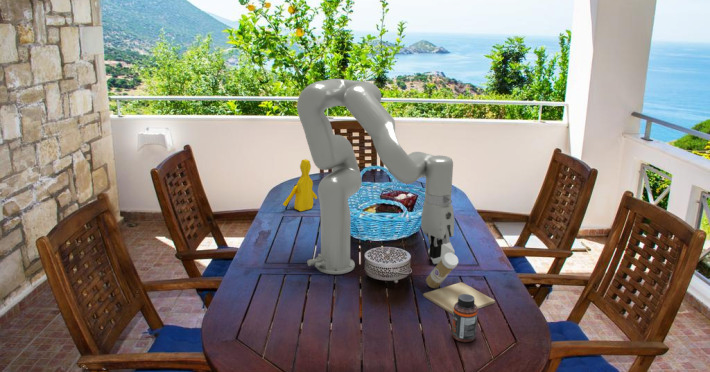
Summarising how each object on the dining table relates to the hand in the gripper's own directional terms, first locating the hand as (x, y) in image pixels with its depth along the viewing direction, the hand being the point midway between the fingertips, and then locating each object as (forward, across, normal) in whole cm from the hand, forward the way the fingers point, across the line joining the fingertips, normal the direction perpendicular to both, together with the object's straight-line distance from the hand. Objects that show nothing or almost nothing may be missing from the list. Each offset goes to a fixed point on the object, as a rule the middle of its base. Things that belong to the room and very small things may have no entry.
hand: (435, 256), depth 172 cm
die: (+10, +13, -14) cm, 21 cm away
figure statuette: (+10, +85, 0) cm, 85 cm away
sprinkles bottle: (+9, 0, 0) cm, 9 cm away
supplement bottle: (+10, -26, +12) cm, 31 cm away
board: (+10, -10, -1) cm, 14 cm away
